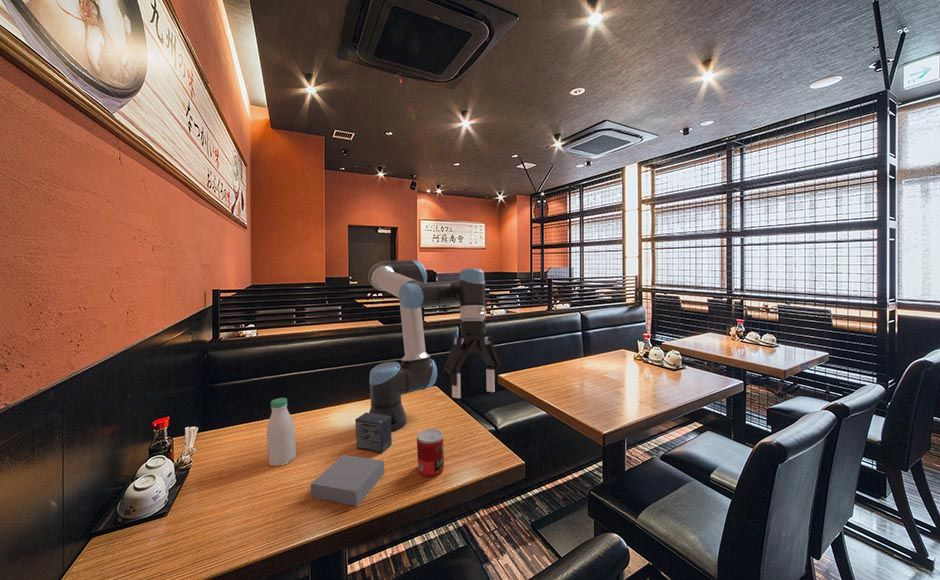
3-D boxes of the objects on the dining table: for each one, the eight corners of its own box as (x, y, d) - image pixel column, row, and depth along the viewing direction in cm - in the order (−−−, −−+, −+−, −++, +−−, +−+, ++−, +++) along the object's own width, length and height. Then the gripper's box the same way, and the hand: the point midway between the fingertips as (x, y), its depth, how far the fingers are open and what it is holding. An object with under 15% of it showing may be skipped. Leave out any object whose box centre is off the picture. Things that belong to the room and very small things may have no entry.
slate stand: (343, 467, 104) (343, 454, 103) (384, 473, 100) (383, 460, 100) (311, 497, 90) (310, 483, 90) (357, 506, 87) (356, 491, 86)
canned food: (440, 479, 97) (439, 442, 96) (414, 476, 99) (412, 440, 98) (447, 463, 105) (446, 429, 104) (422, 461, 106) (421, 427, 105)
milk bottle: (301, 456, 110) (297, 397, 109) (279, 469, 103) (275, 406, 102) (285, 451, 114) (282, 394, 112) (263, 463, 107) (259, 402, 105)
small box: (393, 444, 117) (391, 415, 116) (382, 454, 111) (381, 423, 110) (367, 439, 120) (366, 411, 120) (355, 449, 114) (354, 419, 113)
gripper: (448, 319, 88) (448, 402, 86) (510, 320, 105) (512, 390, 102) (431, 320, 94) (431, 398, 91) (492, 322, 111) (494, 388, 108)
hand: (474, 394), depth 97 cm, fingers open, 13 cm apart
